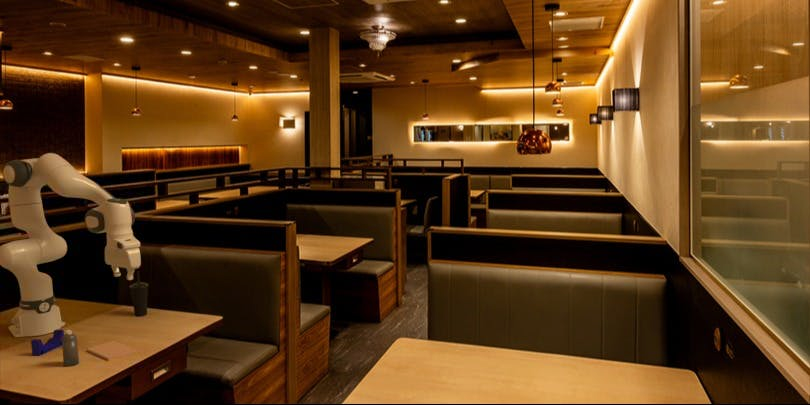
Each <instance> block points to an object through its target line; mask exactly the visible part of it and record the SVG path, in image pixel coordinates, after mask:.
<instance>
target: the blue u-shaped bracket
mask: <svg viewBox="0 0 810 405" xmlns="http://www.w3.org/2000/svg"><path fill="white" fill-rule="evenodd" d="M52 335H53V336H52V337H50V338H48V339H47V341H46V342H45V343H44V344H43V342H42V339H39V338H38V339H37V338H34V339H31V340H30V344H31V355H32V356H33V357H41V356H42V355H44V354H45V355H46V354H47V353H49V352H51V351H53V349H54V350H56V349H58V348H60V347H62V337H63V336H64V335H65V331H64V329H56V330H54V332H53V334H52Z"/></svg>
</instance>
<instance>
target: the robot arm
mask: <svg viewBox="0 0 810 405" xmlns="http://www.w3.org/2000/svg"><path fill="white" fill-rule="evenodd" d="M2 178H3V180H4V182H5V183H6V184H7V185H8V205H9V211H10V212H9V213H10V218H11V223H12V225H13V226H14V227H15V228H16V229H18V230H21V231H25V232H26V234H27V235H28V238H24V239H19V240H13V241H10V242H7V243H4V244H2V245H0V266H1V267H2V268H4V269H5V270H6V269H7V270H8V271H10V272H11V273H12V274H13V275H14V276H15V277H16V279H17V281H18V287H19V291H20V297H21V298H20V300H19V309H18V311H17V312H16V313H15V314H14V317H12V318H11V319H10V320H11V324H12V325H9V326H8V331H9V332H10V333H11V334H12V336H13V338H22V337H36V336H37V337H38V336H43V335H47V334H50V333H54V330H56V329H59V330H61V328H62V327H63V326H65V325H66V322H65V321H62V316H61V312H60V307H59V306H57V305H56V297H55V294H54V291H53V290H54V289H53V288H54V287H53V279H52V277H51V276H50V275H49V274H47V273H44V272H41V271H39V270H38V266H37V265H40V264H45V263H49V262H50V263H51V262H54V261H56V260H59V259H61V258H63V257H64V256H65V255H66V254H67V252H68V245H67V242H66V240H65V239H64V237H62V236H61V235H58V234H57V233H55V232H54V231H53V230H52V228H50V227H49V225H48V223H47V220H46V217H45V214H44V213H45V212H44V208H43V200H42V196H41V189H42V188H43V187H46V188H50V189H51V190H52V191H53V192H54V193H56V194H57V195H59V196H62V197H65V198H74V199H75V198H77V199H85V200H89V201H92V202H94V203H96V204H97V205H98V206H97V207H93V208H91V209H89V210H88V211H87V212H86V213H85V215H84V224H85V227H86V229H87V230H88V231H89V232H91V233H93V234H102V233H106V246H105V247H104V262H105V264H106V265H110V266H111V269H112V272H113V277H115V278H119V277H121V276H122V275H121V271H120V268H122V269H126V272H127V274H126V276H125V277H126V280H128V281H132V280H134V274H135V273H134V272H135V270H136V269H139V268H140V267H141V263H142V260H141V252H140V251H141V250H140V247H141V242H140V241H139V240H138V239H137V238H136V237H135V236H134V232H133V229H132V226H133V225H134V223H135V219H136V214H135V211H134V210H133V208H132V207H131V206H130V203H129V202H128V200H126V199H124V198H117V197H115V196H114V195H112V194H111V192H109V191H108V190H107V189H105V188H104V187H103V186H102V185H101V184H99V183H97V182H96V181H93V180H92V179H90V178H88V177H86V176H85V175H83V174H82V173H81V172H79V171H78V170H77V169H76V168H75V167H74V166H72V164H70V162H68V161H67V160H66V159H65V158H63V157H62V156H60V155H59V154H56V153H54V152H48V153H44V154H43V155H41V156H39V158H37V157H36V158H35V157H32V158H27V159H14V160H10V161H8V162H6V163H5V164H4V165H3V168H2Z"/></svg>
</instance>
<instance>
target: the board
mask: <svg viewBox="0 0 810 405" xmlns="http://www.w3.org/2000/svg"><path fill="white" fill-rule="evenodd" d="M136 351H137V350H136V348H133V347H130V346H128V345H126V344H123V343H121V342H118V341H115V340H111V341H108V342H104V343H101V344H98V345H94V346H91V347H88V348H86V352H88V353H90V354H93V355H95V356H97V357H99V358H101V359H103V360H106V361H108V362H109V360H110V361H113V360H115V358H116V359H118V357H119V358H121V356H122V357H125V356H127V355H130V354H134V353H136ZM124 355H125V356H124ZM112 359H113V360H112Z"/></svg>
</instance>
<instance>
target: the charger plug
mask: <svg viewBox="0 0 810 405" xmlns="http://www.w3.org/2000/svg"><path fill="white" fill-rule="evenodd" d="M61 349H62V357H63V358H62V359H63V367H65V368H70V367H75V366H78V365H79V363H80V358H79V357H80V356H79V346H78V337H77V335H76V334H75V333H73V331H72V330H70V329H66V330H65V333H64V336H63V337H62V346H61Z"/></svg>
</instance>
